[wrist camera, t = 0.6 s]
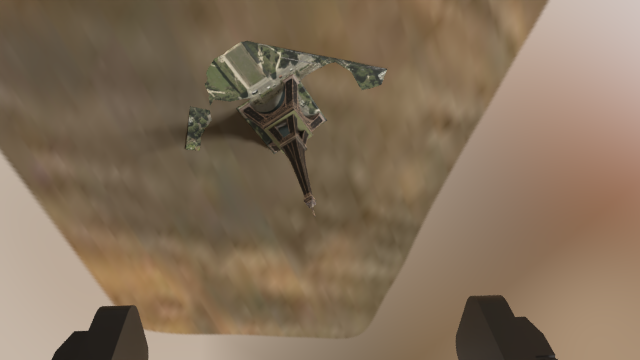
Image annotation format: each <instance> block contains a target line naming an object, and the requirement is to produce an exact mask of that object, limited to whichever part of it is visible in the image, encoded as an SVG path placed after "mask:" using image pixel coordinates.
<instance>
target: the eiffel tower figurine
mask: <svg viewBox="0 0 640 360" xmlns="http://www.w3.org/2000/svg"><path fill="white" fill-rule="evenodd" d="M333 62H336V63H338V64H339V65H341V66H343V67H344V68H346V69H348V70H349V71H351V72H352V74H353V76H354V78H355V79H356V81H357V83H358V85H359V87H360V88H361V89H362V90H364V89H369V88H373V87H376V86H379V85H381V84H382V81H383V79H384V76H385V73H386V70H387V69H385V68H380V67H374V66H369V65H364V64H360V63H355V62H351V61H346V60H341V59H336V58H331V57H325V56H319V55H314V54H309V53H303V52H298V51H293V50H288V49H283V48H278V47H274V46H269V45H264V44H259V43H254V42H250V41H245V42H240V43H239V44H237V45H236V46H234V47H233V48H231V49H230V50H228V51H227V52H226V53H225V54H223V55H221V56H219V57H217V58H215V59H214V60H213V62H212V64H211V65H210V67H209V68H208V70H207V72H206V74H207V82H206V83H205V86H206V89H207V91H208V93H209V95H210V97H209V102H210V105H211V103H212V101H213V99H215V100H223V101H235V100H240V99H246V98H252V99H250V100H249V101H247V102H246V103H244V104H242V105H241V106H239V107H238V108H236V109H237V110H238V111H239V113H240V114H241V115H242V116H243V117H244V118H245V120H246V121H247V122H248V123H249V124H250V126H251V127H252V128H253V129H254V130H255V132H256V133H257V134H258V135H259V136H260V138H261V139H262V140H263V141H264V142H265V144H266V145H267V146H268V147H269V148H270V150H271V151H272V152H273V153H274V154H275V153H276V152H278V151H280V150H281V151H282V153H283V154H284V153H285V154H286V156H287V157H288V158H289V160H290V162H291V164H292V167H293V169H294V172H295V174H296V176H297V179H298V181H299V184H300V186H301V189H302V191H303V194H304V197H305V199H304V202H305V203H306V205H307V206H308V207H309V208H312V211H313V214H314V217H315V213H314V210H313V207H314V205H316V200H315V198H314V197H313V195H312V191H311V187H310V182H309V177H308V173H307V167H306V161H305V151H306V150H307V148H306V146H305V145H306V142H307V139H308V138H310V137H311V136H313V134H312V131H313V130H314V129H315V128H316V127H317V126H319V125H321V124H322V123H324V122H325V121H327V120H326V118H325V117H324V115H323V114H322V112H321V111H320V110H319V108H318V107H317V105H316V104H315V102H314V101H313V99H312V98H311V96H310V95H309V94H308V92H307V91H306V89H305V88H304V86H303V85H302V83H301V82H300V81H301V80H302V79H303V78H304V77H305V76H307V75H308V74H310V73H311V72H313V71H315V70H316V69H318V68H321V67H322V66H324V65H326V64H329V63H333ZM210 121H211V115H210V110H205V109H200V108H195V107H191V106H190V114H189V124H188V134H187V143H186V149H188V150H199V151H200V143H201V139H200V137H201V135H202V134H203V132H204V131H205V130H204V128H205V127H207V126H208V125H209V123H210Z"/></svg>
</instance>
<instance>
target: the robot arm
mask: <svg viewBox="0 0 640 360" xmlns="http://www.w3.org/2000/svg"><path fill="white" fill-rule="evenodd" d="M456 351H457V356H458V359H459V360H558V359H556V358H555V354H554V352H553V350H552V349H551V347H550V345H549V343H548V341H547V340H546V338H545V337H544V335H543V333H542V332H540V331H539V330H538V329H537V328H536V327H535V326H534V325H533V324H532V323H531V322H530V321H529V320H528V319H527V318H526V317H515V316H514V314H513V313H512V311H511V309H510V307H509V305H508V303H507V301H506V300H505V298H504V297H503V296H501V295H488V296H470V297H469V298H468V299H467V302H466V305H465V308H464V312H463V315H462V318H461V321H460V324H459V328H458V331H457V334H456ZM52 360H148V345H147V341H146V338H145V334H144V330H143V327H142V323H141V320H140V316H139V313H138V310H137V307H136V306H134V305H132V306H102V307H100V308H99V309H98V310H97V312H96V314H95V316H94V319H93V321H92V323H91V326H90V328H89V331H74V333H72V334H71V336H70V337H69V338H68V339H67V340H66V341H65V342H64V343H63V344H62V345H61V346H60V347H59V349H57V351H56V352H55V354H54V356H53V358H52Z"/></svg>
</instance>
